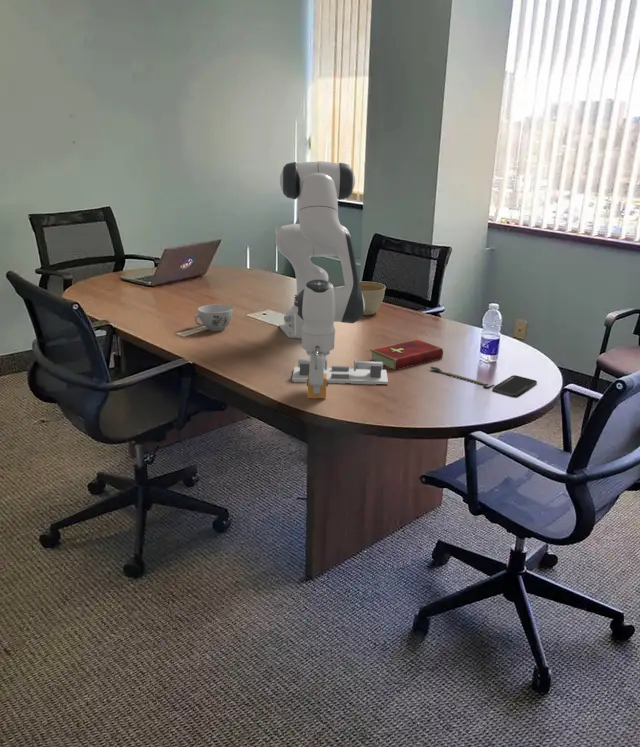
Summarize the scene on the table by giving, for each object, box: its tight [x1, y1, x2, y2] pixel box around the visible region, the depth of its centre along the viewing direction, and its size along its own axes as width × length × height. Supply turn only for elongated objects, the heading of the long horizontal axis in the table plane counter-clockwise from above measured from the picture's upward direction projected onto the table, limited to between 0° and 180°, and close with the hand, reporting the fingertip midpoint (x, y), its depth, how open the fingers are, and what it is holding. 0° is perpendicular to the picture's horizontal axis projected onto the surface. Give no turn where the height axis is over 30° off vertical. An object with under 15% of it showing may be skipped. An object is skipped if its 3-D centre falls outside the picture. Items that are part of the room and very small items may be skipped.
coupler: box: [306, 374, 329, 399], centre depth 184 cm, size 6×4×6 cm
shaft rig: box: [291, 357, 389, 385], centre depth 198 cm, size 28×10×6 cm, turn 88°
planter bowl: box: [359, 280, 386, 316], centre depth 267 cm, size 16×16×11 cm
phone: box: [492, 374, 538, 398], centre depth 194 cm, size 8×1×15 cm
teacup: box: [194, 303, 234, 332], centre depth 241 cm, size 15×12×8 cm
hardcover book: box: [370, 338, 444, 371], centre depth 215 cm, size 12×21×4 cm, turn 126°
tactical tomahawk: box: [430, 366, 496, 390], centre depth 202 cm, size 21×7×1 cm, turn 46°
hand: (317, 388), depth 184 cm, fingers closed on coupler, 4 cm apart
